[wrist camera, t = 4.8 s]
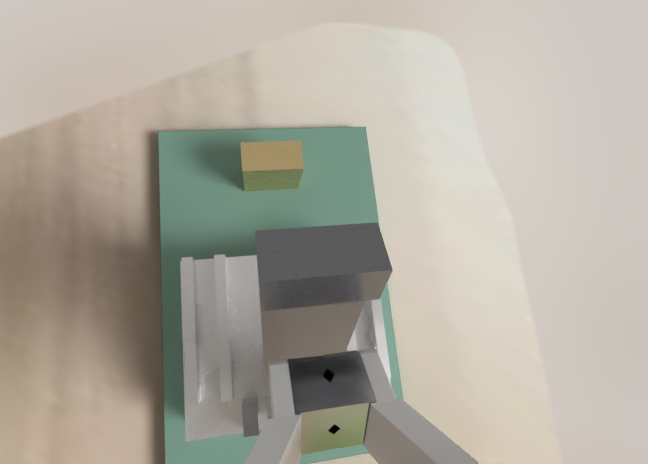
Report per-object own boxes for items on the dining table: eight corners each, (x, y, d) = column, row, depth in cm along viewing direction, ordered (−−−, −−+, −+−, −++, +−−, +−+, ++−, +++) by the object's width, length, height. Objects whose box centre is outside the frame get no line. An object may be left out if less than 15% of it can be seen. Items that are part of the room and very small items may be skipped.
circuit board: (403, 440, 28) (409, 445, 27) (170, 481, 25) (165, 488, 24) (361, 133, 33) (365, 126, 32) (162, 138, 30) (158, 131, 29)
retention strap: (318, 398, 23) (322, 426, 22) (266, 406, 22) (269, 434, 21) (376, 219, 10) (392, 270, 9) (254, 227, 9) (258, 282, 8)
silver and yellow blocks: (375, 396, 27) (404, 415, 22) (197, 423, 25) (179, 452, 20) (346, 162, 31) (364, 128, 25) (187, 168, 29) (170, 132, 23)
